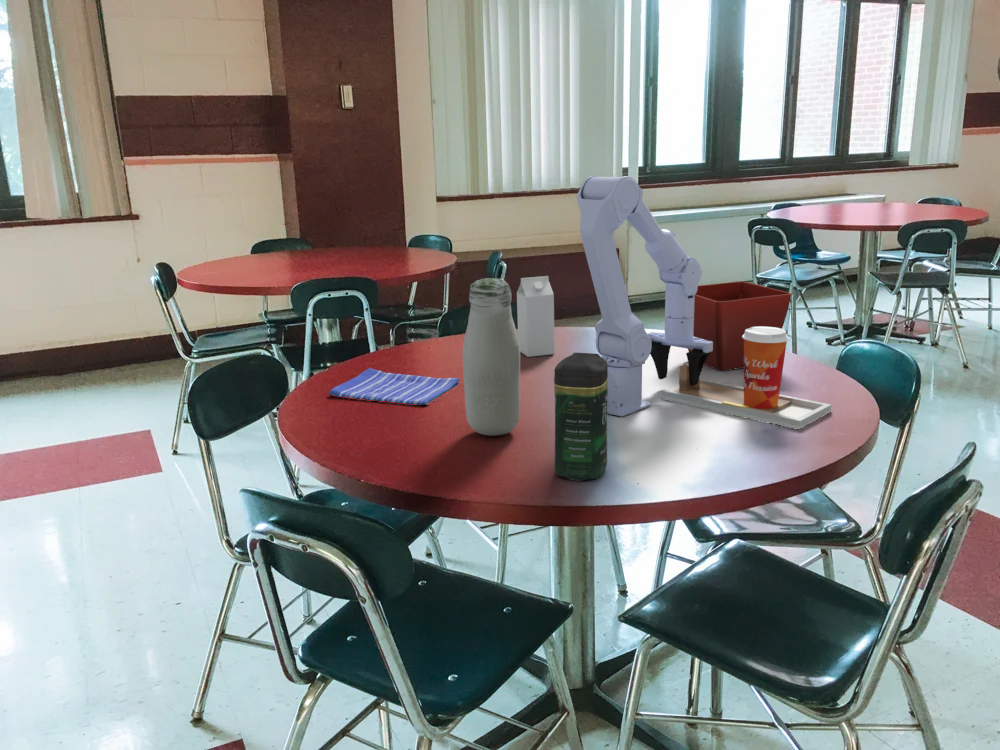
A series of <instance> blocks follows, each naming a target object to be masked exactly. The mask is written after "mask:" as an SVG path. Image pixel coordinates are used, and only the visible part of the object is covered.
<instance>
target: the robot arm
mask: <svg viewBox="0 0 1000 750" xmlns="http://www.w3.org/2000/svg"><path fill="white" fill-rule="evenodd" d="M643 194H644V192H643V189H642V188H641V187H640V186H639V185H638V182H637V181H636V180H635V178H633V177H632V176H629V175H623V176H598V175H591V176H589V177H587V178H586V179H585V180H584V181H583V182H582V184H581V185H580V188H579V190H578V193H577V194H576V202H577V205H578V209H579V213H580V220H579V221H580V223H579V225H580V226H579V233H580V239H581V242H582V247H583V248H584V254H585V257H586V261H587V265H588V269H589V271H590V276H591V280H592V283H593V286H594V287H593V288H594V291H595V295H596V298H597V303H598V307H599V311H600V314H601V319H600V320H599V321H598V322H597V323H596V324H595V325H594V329H595V333H596V337H595V348H596V351H597V354H599V356H601V357H602V358H603V359H605V360H606V362H607V364H608V367H607V368H608V395H607V414H609V415H614V416H618V417H625V416H628V415H630V414H632V413H634V412H638V411H640V410H642V409H645V408H648V407H650V406H651V405H652V402H648V401H644V400H643V399H642V398H643V365H645V364H646V361H647V360H648V358H649V357H650V356H651V359H652V360H653V362H654V366H655V369H656V374H657V378H658V380H663V379H666V378H667V377H668V370H669V368H668V366H669V365H668V364H669V355H670V353H671V348H672V347H677V348H681V349H687V350H688V349H693V351H691V352H689V351H687V352H686V353H685V355H686V359H687V363H688V364H689V380H690V385H691V386H694V385H696V384H698V381H699V377H700V378H701V373H702V371H703V369H704V367H705V365H704V364H705V362H706V360H707V359H708V357H709V355H710V353H711V351H713V342H712V341H707V340H703V339H700V338H697V337H693V335H694V302H695V294H696V292H697V289H698V286H699V282H700V281H701V279H702V277H703V276H702V275H703V269H701V265H700V263H699V261H698V260H697V259H696V258H695V257H692V256H689V255H688V254H687V252H686V251H687V250H685V248H683V247H682V246H681V244H680V243H679V242H678V240H677V239H676V237H675V236H676V234H675V233H674V231H673V230H669V229H665V228H664V229H662V228H661V227H660V225H659V223H658V222H657V220H656V219H655V217H654V216H653V214H652V213H651V210H650V209H649V208H648V206H647V204H646V203H645V201H644V199H643ZM625 220H627V221H628V222H629V223H630V225H631V226H632V227H633V229H635V230H636V231H637V232H638V234H639V235H640V236H641V237H642V238H643V239H644V240H645V242H644V250H645V251H646V253H647V254H648V255H649V257H650V258H651V259H652V260H653V262H654V263H655V264H656V267H657V268H658V269H657V270H658V276H659V280H660V281H662V282H663V283H664V284H665V294H664V295H665V299H664V301H665V302H664V305H665V306H664V332H656V331H655V332H653V331H652V332H649V333H647V332H646V329H645V326H644V323H643V321H641V320H640V319H639V318H638V316H636V315H635V314H634V313H633V312H632V309H631V305H630V304H631V303H630V301H629V300H630V299H629V297H628V292H627V288H626V284H625V280H624V277H623V271H622V268H621V263H620V259H619V256H618V255H619V254H618V251H617V248H616V243H615V239H614V238H615V237H614V233H615V231H616V230H617V229H619V228H620V227H621V225H622V224H623V223H624V222H625Z"/></svg>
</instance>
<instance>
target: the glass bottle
mask: <svg viewBox="0 0 1000 750" xmlns="http://www.w3.org/2000/svg"><path fill="white" fill-rule="evenodd" d="M508 283H509V282H506V280H504V279H501V278H497V277H486V278H480V279H478V280H477V279H476V280H475V281H474V282H473V283H471V284H470V285H469V287H470V288H469V295H468V300H469V301H468V302H469V304H470V309H469V314H468V323H467V326H466V331H465V333H464V336H463V337H464V340H463V343H462V344H463V345H462V373H463V389H464V390H463V391H464V407H465V417H466V420H467V422H468V425H469V426H470V428H471V429H472V430H473V431H475V432H476V433H478V434H480V435H482V436H483V435H484V436H490V437H497V436H502V435H507V434H508V433H510V432H512V431H513V430H514V429H515V428H516V427H517V424H518V423H519V422H518V421H519V419H520V413H521V352H520V345H519V339H518V331H517V329H516V325H515V322H514V318H513V315H512V312H513V311H512V306H511V305H512V304H511V303H512V291H511V288H510V285H509V284H508Z"/></svg>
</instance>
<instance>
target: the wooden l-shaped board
mask: <svg viewBox="0 0 1000 750" xmlns="http://www.w3.org/2000/svg"><path fill="white" fill-rule="evenodd" d="M700 379H701V376H700V377H699V381H698V384H696V385H694V386H691V385H690V380H689V364H688V362H687V363H685V364H682V365H680V366H679V380H678V386H679V387H678V388H676V389H673V390H672V391H674V392H679V393H683V394H688V395H693V396H697V397H702V398H706V399H711V400H716V401H720V402H723V401H727V402H732V403H736V404H741V405H745V404H744V392H743V391H738V390H733V389H729V388H724V387H719V386H714V385H709V384H704V383H700ZM789 405H791V401H788V400H783V399H778V405H777V407H775V408H770V409H757V408H752V409H757V410H761V411H766V412H771V413H774V412H776V411H778V410H780V409H782V408H784V407H786V406H789ZM749 408H751V407H749Z"/></svg>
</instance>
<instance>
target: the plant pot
mask: <svg viewBox="0 0 1000 750" xmlns="http://www.w3.org/2000/svg"><path fill="white" fill-rule="evenodd" d="M791 298H792V293H791V292H788V291H784V290H781V289H780V290H779V289H775V288H772V287H768V286H763V285H759V284H756V283H752V282H747V281H733V282H721V283H710V284H703V285H698V289H697V292H696V294H695V302H694V335H693V337H697V338H700V339H703V340H707V341H712V342H713V351H711V353H710V355H709V357H708V359H707V360H706V362H705V364H704V366H706V367H710V368H712V369H714V370H717V371H719V372H720V371H721V372H722V371H723V372H724V370H725V371H731V370H730V369H732V370H736V369H735V368H740V369H744V339H743V338H742V336H743V334H744V333H745V330H746V329H748V328H751V327H759V326H764V327H776V328H781V329H783V328H784V324H785V322H786V318H787V315H788V311H789V307H790V303H791ZM687 350H688V351H687V352H691V351H693V349H687Z"/></svg>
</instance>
